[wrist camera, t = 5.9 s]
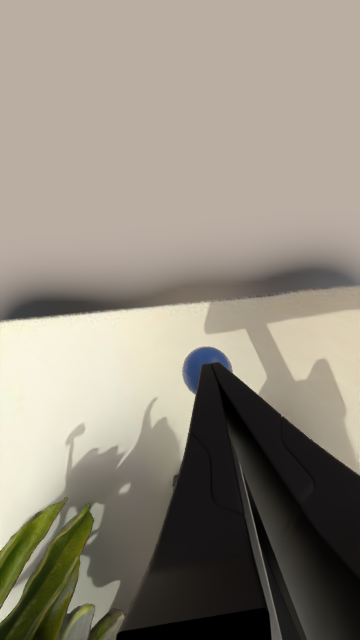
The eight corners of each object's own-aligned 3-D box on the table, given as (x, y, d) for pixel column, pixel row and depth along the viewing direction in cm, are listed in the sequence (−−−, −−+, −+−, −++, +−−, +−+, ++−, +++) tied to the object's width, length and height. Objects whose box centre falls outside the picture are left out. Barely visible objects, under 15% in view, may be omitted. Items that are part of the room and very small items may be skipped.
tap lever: (180, 357, 12) (177, 344, 9) (221, 350, 12) (229, 336, 9) (258, 870, 5) (325, 1342, 2) (352, 852, 5) (513, 1308, 2)
